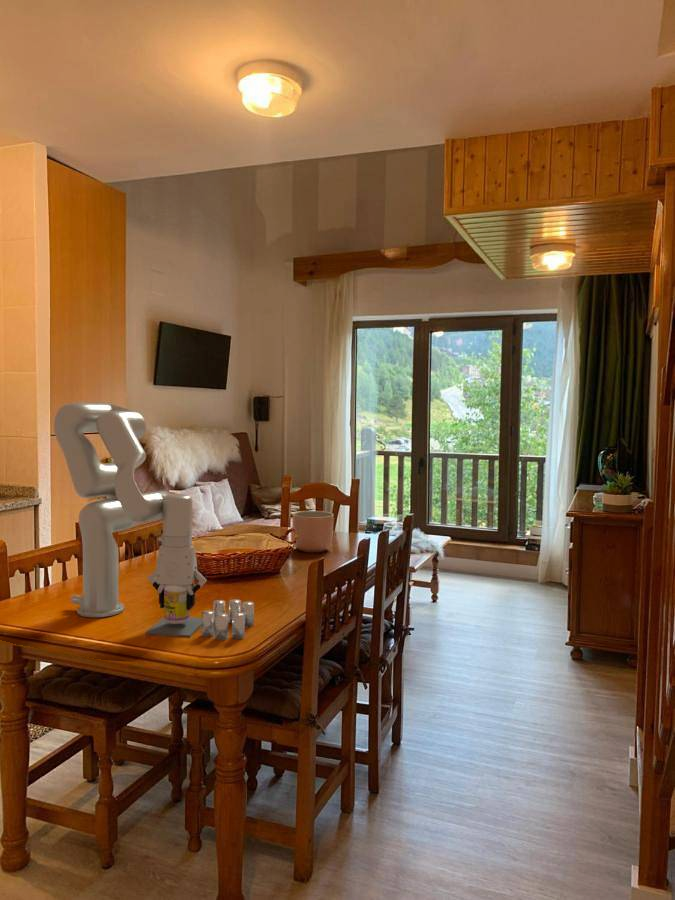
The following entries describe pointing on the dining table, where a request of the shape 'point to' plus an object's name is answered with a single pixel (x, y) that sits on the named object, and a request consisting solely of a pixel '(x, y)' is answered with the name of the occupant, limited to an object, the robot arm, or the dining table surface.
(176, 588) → the supplement bottle
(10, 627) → the dining table surface
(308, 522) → the planter
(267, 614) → the dining table surface
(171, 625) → the rubber mat
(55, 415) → the robot arm
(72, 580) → the dining table surface
